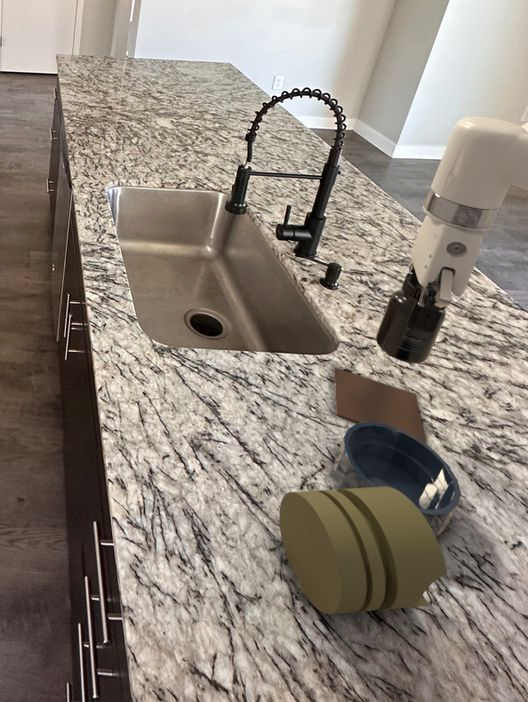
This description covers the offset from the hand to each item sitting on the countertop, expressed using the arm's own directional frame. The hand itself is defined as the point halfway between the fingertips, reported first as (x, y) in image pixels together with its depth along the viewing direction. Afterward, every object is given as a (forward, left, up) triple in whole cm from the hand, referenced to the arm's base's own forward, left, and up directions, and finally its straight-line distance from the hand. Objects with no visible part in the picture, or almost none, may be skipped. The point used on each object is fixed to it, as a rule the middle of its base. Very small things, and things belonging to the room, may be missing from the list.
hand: (415, 311), depth 80 cm
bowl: (0, +16, -20) cm, 25 cm away
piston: (+6, +31, -20) cm, 37 cm away
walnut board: (0, 0, -20) cm, 20 cm away
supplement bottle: (0, 0, -7) cm, 7 cm away
